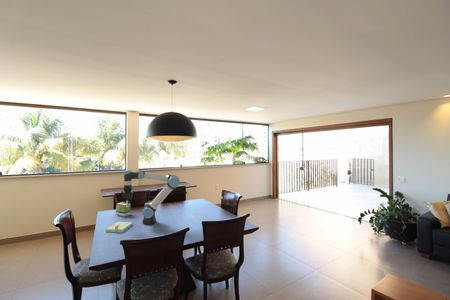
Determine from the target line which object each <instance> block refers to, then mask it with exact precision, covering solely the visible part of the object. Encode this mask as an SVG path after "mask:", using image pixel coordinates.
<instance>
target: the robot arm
mask: <svg viewBox="0 0 450 300" xmlns="http://www.w3.org/2000/svg"><path fill="white" fill-rule="evenodd" d="M143 179H146V180H147V179H148V180H153V181H157V182H158V181H159V182H163V183H164V182H165V185H164V186H163V188H162V189H161V190H160V192H159V193H158V194H157V195H156V196H155V197H154V198H153V199H152V201H150V202H145V203H144V207H143V209H142V211H141V212H142V213H141V215H142V217H143V219H142V224H143V225H144V226H145V225H146V226H147V225H154V224H156V223H157V218H156V211H158V207H159V206H160V205H161V204H162V202H163V201H164V200H165V199H166V198H167V196H168V195H169V194H170V193H171V192H172V191H174V190H175V189H176V188H177V187H178V186H179V185H180V182H181V181H180V180H181V179H180V178H179V176H178V175H174V174H168V175H166V174H161V173H154V172H148V171H143V170H138V171H134V172H133V171H132V169H131V170H130V169H127V170H126V169H125V170H124V172H123V190H121V195H122V198H123V201H124V202H125V203H126V207H129V203H130V204H131V201H132V199H133V195H134V192H135V191H134V190H133V189H132V187H133V185H132V182H133V181H132V180H143Z"/></svg>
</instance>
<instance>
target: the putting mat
mask: <svg viewBox="0 0 450 300" xmlns="http://www.w3.org/2000/svg"><path fill="white" fill-rule="evenodd" d="M115 225H118V229H115ZM133 225H134V224H133V222H130V221H128V222H125V221H117V222H115V223H113V224H112V225H110V226H109V227H107V228H105V233H122V234H123V233H124V232H125V231H127V230H128V229H129V228H130V227H132V226H133Z"/></svg>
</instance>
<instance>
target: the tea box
mask: <svg viewBox="0 0 450 300" xmlns="http://www.w3.org/2000/svg"><path fill="white" fill-rule="evenodd" d="M115 215H116V216H121V217H127V216H130V215H131V202H130V203H129V207H126V203H125V201H121V202H116V206H115Z"/></svg>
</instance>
